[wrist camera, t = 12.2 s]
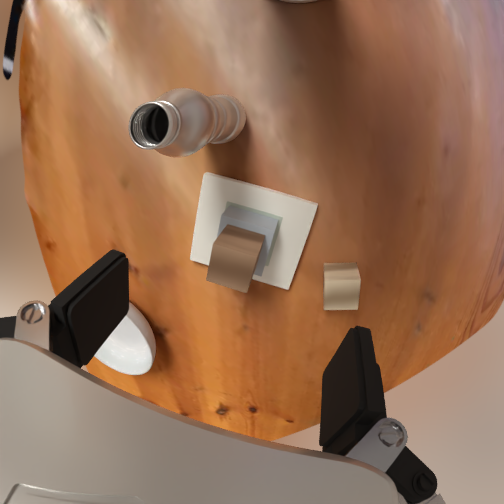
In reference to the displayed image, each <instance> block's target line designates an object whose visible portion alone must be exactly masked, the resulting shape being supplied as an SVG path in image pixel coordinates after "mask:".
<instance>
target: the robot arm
mask: <svg viewBox="0 0 504 504" xmlns="http://www.w3.org/2000/svg"><path fill="white" fill-rule="evenodd" d="M280 1H285V2H291V3H307V2H313V1H317V0H280ZM128 311H129V271H128V258H126V255H125V254H124V253H122V252H119V251H116V250H111V251H109V252H108V253H107V254H106V255H104V256H103V257H102V258H101V259H99V260H98V261H97V262H96V263H95V264H93V265H92V266H91V267H90V268H88V269H87V270H86V271H85V272H84V273H83V274H81V275H80V276H79V277H78V278H77V279H76V280H74V281H73V282H72V283H71V284H70V285H69V286H67V287H66V288H65V289H64V290H63V291H62V292H61V293H60V294H58V295H57V296H56V297H55V298H54V299H53V300H52V301H51V304H50V305H49V306H47V305H46V304H45V303H44V302H41V301H30V302H27V303H25V304H24V305H22V306H21V307H20V309H19V310H18V313H17V316H11V317H4V318H0V504H445V502H444V500H443V498H442V496H441V495H440V494H438V495H437V494H436V493H435V491H436V489H437V479H436V476H435V474H434V473H433V472H432V471H431V470H430V469H429V468H428V467H427V466H426V465H425V464H424V463H423V462H422V461H421V460H420V459H419V458H418V457H417V456H416V455H415V454H413V453H412V452H411V451H410V450H409V449H408V448H407V447H406V446H405V445H406V443H407V438H408V436H407V431H406V429H405V427H404V426H403V425H402V424H401V423H400V422H399V421H397V420H396V419H393V418H387V416H386V408H385V400H384V392H383V385H382V378H381V372H380V367H379V365H378V364H377V363H376V358H375V352H374V346H373V341H372V335H371V331H370V329H368V328H364V327H360V326H356V327H355V328H350V330H349V331H348V333H347V335H346V336H345V338H344V340H343V341H342V343H341V345H340V346H339V348H338V350H337V351H336V353H335V354H334V356H333V358H332V359H331V361H330V362H329V364H328V366H327V367H326V369H325V371H324V373H323V378H322V404H321V423H320V438H319V439H320V440H319V445H320V446H323V450H322V452H321V451H315V450H309V449H303V448H299V447H294V446H289V445H284V444H279V443H275V442H271V441H266V440H262V439H258V438H254V437H250V436H246V435H243V434H239V433H235V432H232V431H228V430H225V429H222V428H219V427H215V426H212V425H209V424H206V423H203V422H200V421H197V420H194V419H191V418H189V417H186V416H183V415H180V414H178V413H175V412H172V411H170V410H167V409H165V408H162V407H160V406H157V405H155V404H153V403H150V402H148V401H145V400H143V399H141V398H139V397H136V396H134V395H132V394H130V393H128V392H125V391H123V390H121V389H119V388H117V387H115V386H113V385H111V384H109V383H107V382H105V381H103V380H101V379H99V378H97V377H95V376H94V375H92V374H90V373H88V372H86V371H84V370H82V369H81V367H82V366H83V365H87V364H88V363H89V361H90V360H91V359H92V358H93V356H94V355H95V354H96V352H97V351H98V350H99V349H100V347H101V346H102V345H103V343H104V342H105V341H106V340H107V338H108V337H109V336H110V335H111V333H112V332H113V331H114V330H115V328H116V327H117V326H118V325H119V323H120V322H121V321H122V320H123V319H124V317H125V316H126V315H127V313H128Z"/></svg>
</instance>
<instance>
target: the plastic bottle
mask: <svg viewBox="0 0 504 504" xmlns="http://www.w3.org/2000/svg"><path fill="white" fill-rule="evenodd" d="M245 122H246V113H245V110H244V107H243V106H242V104H241V103H240V102H239V101H238V100H237V99H235V98H234V97H232V96H229V95H225V94H218V95H213V96H210V97H208V96H205V95H204V94H202V93H200V92H198V91H195V90H192V89H189V88H176V89H173V90H170V91H168V92H166V93H164V94H162V95H161V96H159V97H158V98H157V99H156V100H155V101H152V102H147V103H144V104H142V105H140V106H139V107H138V108H137V109H136V110H135V111H134V112H133V114H132V116H131V118H130V121H129V134H130V137H131V139H132V141H133V142H134V143H135V144H136V145H137V146H138V147H140V148H142V149H155V150H156V151H158V152H159V153H161V154H163V155H166V156H170V157H185V156H188V155H191V154H193V153H195V152H197V151H198V150H200V149H201V148H203V147H204V146H205V145H206V144H207V143H213V144H222V143H227V142H229V141H231V140H233V139H234V138H236V137H237V136H238V135H239V134H240V132H241V131H242V130H243V128H244V125H245Z"/></svg>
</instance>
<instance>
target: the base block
mask: <svg viewBox="0 0 504 504" xmlns="http://www.w3.org/2000/svg"><path fill="white" fill-rule="evenodd" d="M277 223H278V219H274V218H271V217H268V216H264V215H261V214H257V213H254V212H251V211H247V210H244V209H240V208H237V207H233V206H229V207H228V208H227V209H226V210H225V211H224V213H223V214H222V215H221V219H220V224H219V229H218V234H217V237H218V236H219V235H220V233H221V232H222V231H223V229H224V228H225V227H226V225H227V224H229V225H233V226H236V227H240V228H243V229H246V230H250V231H253V232H256V233H260V234H263V235H265V238H264V242H263V245H262V249H261V252H260V256H259V259H258V263H257V266H256V269H255V272H254V275H258V276H262V273H263V270H264V267H265V264H266V260H267V257H268V253H269V250H270V247H271V243H272V240H273V237H274V233H275V230H276V226H277Z"/></svg>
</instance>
